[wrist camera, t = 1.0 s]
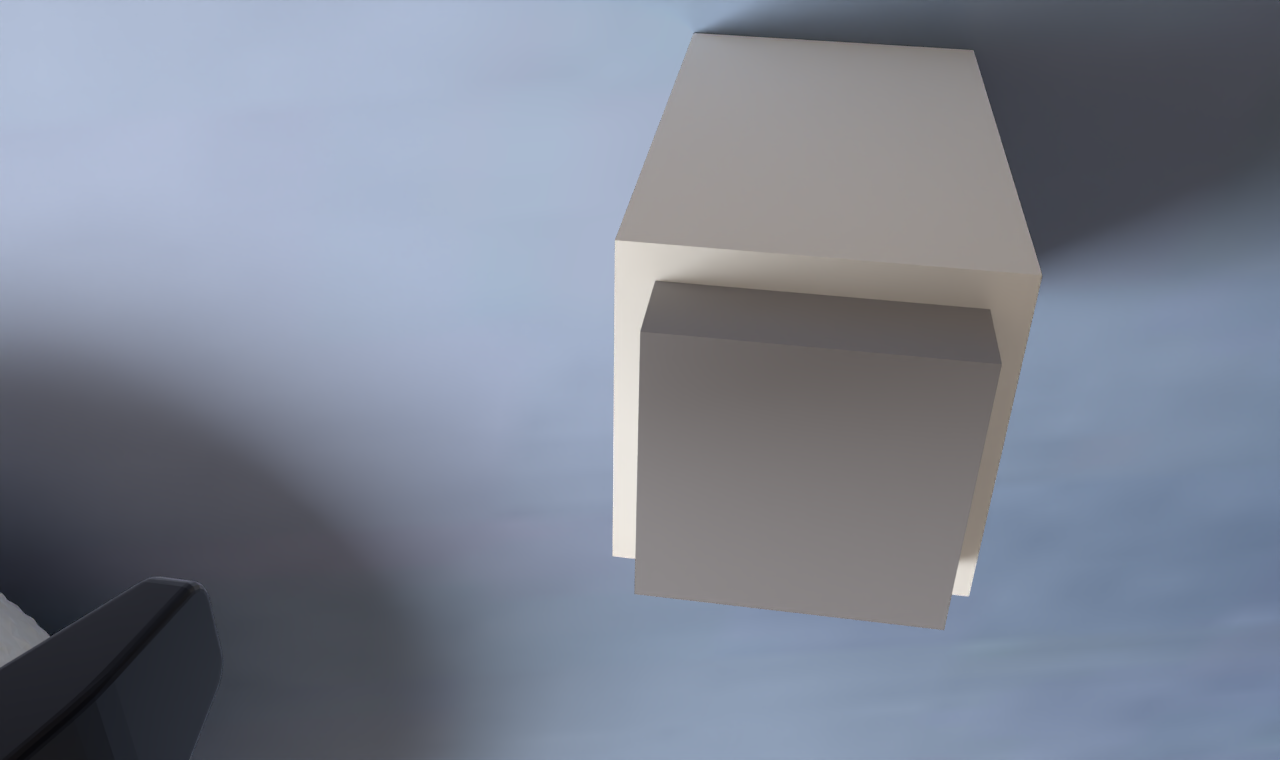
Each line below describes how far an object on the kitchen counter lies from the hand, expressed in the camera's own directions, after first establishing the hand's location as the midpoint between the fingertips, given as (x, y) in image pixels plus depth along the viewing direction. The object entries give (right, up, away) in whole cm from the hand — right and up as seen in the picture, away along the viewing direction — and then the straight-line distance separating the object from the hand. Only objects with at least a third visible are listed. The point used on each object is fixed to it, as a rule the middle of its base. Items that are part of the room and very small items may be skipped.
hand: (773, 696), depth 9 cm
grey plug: (+2, +6, +9) cm, 11 cm away
